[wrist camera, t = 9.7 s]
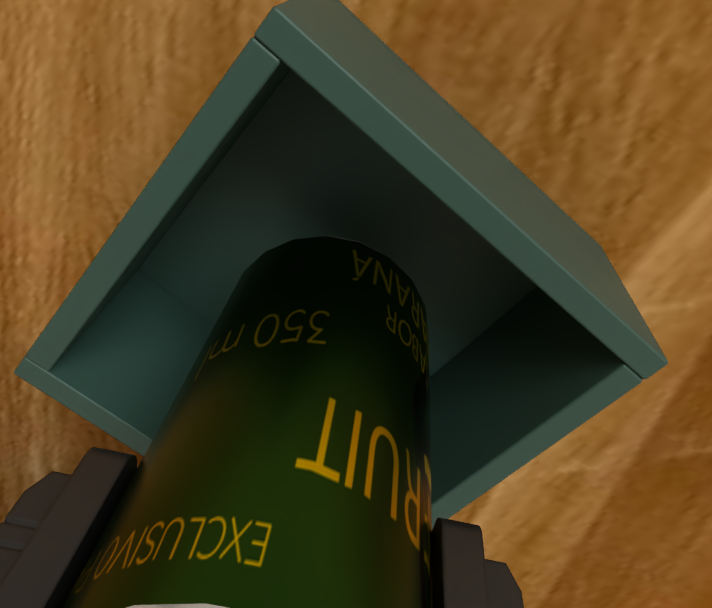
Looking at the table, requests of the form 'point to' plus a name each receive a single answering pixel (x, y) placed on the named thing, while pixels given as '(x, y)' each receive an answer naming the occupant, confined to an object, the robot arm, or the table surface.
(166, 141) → the table surface
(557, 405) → the open box
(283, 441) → the beer can
